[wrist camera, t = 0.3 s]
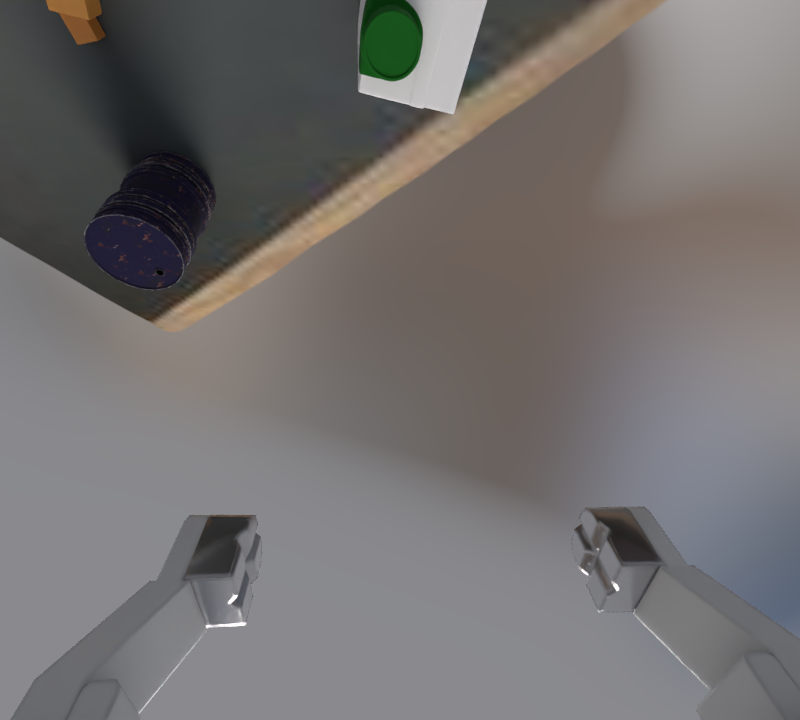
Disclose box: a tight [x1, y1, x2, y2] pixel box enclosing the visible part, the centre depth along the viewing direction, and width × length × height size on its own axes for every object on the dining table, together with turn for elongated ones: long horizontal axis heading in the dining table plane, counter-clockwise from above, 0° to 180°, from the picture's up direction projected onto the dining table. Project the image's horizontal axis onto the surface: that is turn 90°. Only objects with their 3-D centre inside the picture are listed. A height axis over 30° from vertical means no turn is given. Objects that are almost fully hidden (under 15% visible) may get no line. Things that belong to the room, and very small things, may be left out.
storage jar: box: [84, 151, 216, 290], centre depth 50 cm, size 10×10×15 cm
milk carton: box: [358, 0, 487, 114], centre depth 35 cm, size 9×9×20 cm
